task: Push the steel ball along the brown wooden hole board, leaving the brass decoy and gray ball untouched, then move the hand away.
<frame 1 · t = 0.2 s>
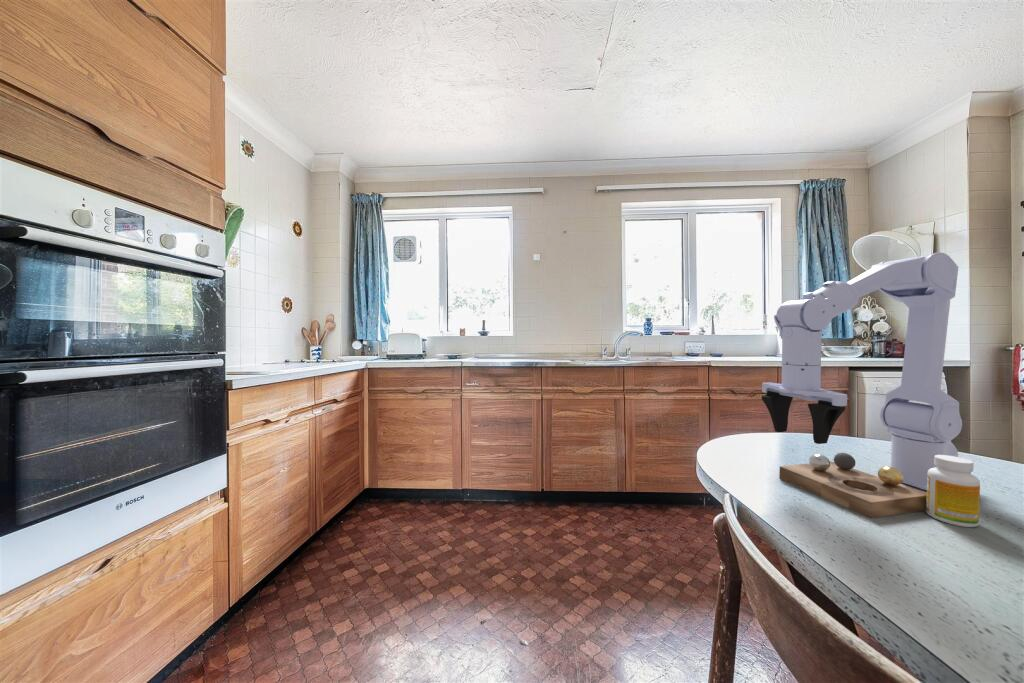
hand: (799, 437, 69), 10 cm above the table, fingers open, 7 cm apart
steel ball: (819, 462, 72), point 4 cm above the table, touching brown wooden hole board
gray ball: (844, 461, 73), point 4 cm above the table, touching brown wooden hole board
brass decoy: (890, 475, 66), point 4 cm above the table, touching brown wooden hole board
brown wooden hole board: (848, 492, 68), on the table
supplement bottle: (951, 520, 59), on the table
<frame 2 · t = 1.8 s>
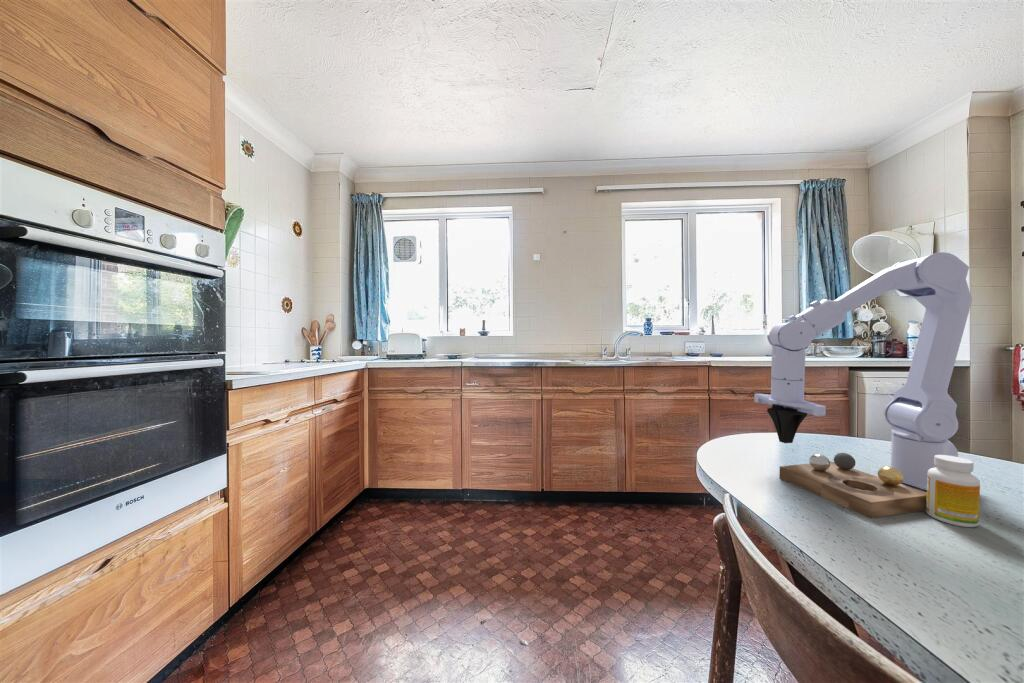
hand: (785, 442, 79), 6 cm above the table, fingers closed
nothing on the table moved.
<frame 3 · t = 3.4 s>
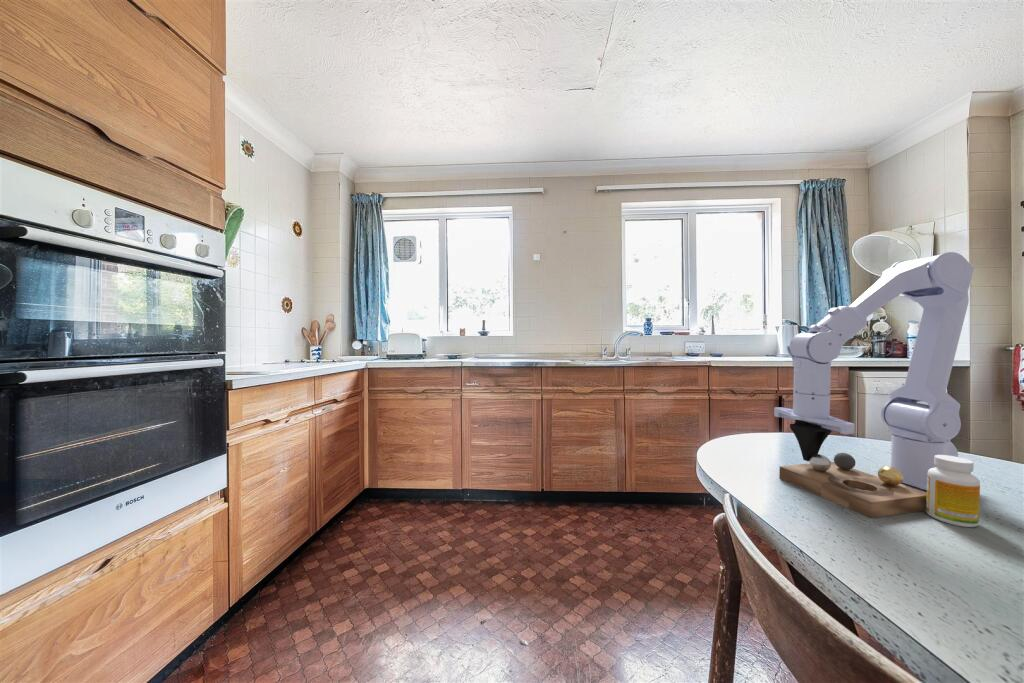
hand: (809, 460, 74), 4 cm above the table, fingers closed, pressing on steel ball
steel ball: (820, 462, 72), point 4 cm above the table, touching gripper, brown wooden hole board
everything else where it was.
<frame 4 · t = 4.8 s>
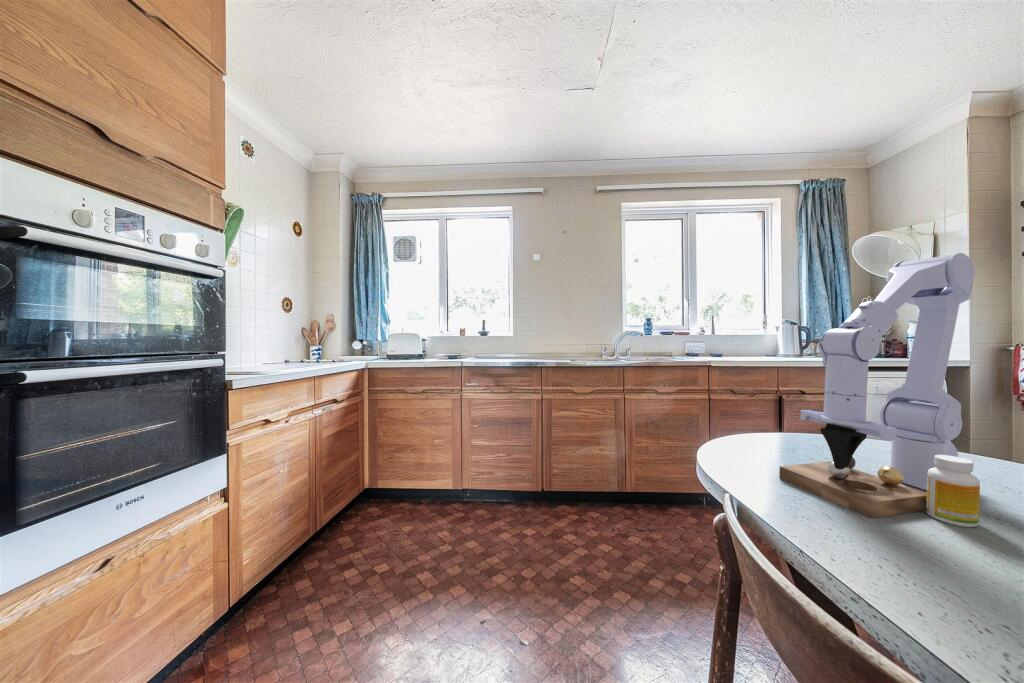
hand: (840, 468, 68), 5 cm above the table, fingers closed, pressing on steel ball
steel ball: (838, 470, 69), point 4 cm above the table, tilted 140°, touching gripper, brown wooden hole board
everything else where it was.
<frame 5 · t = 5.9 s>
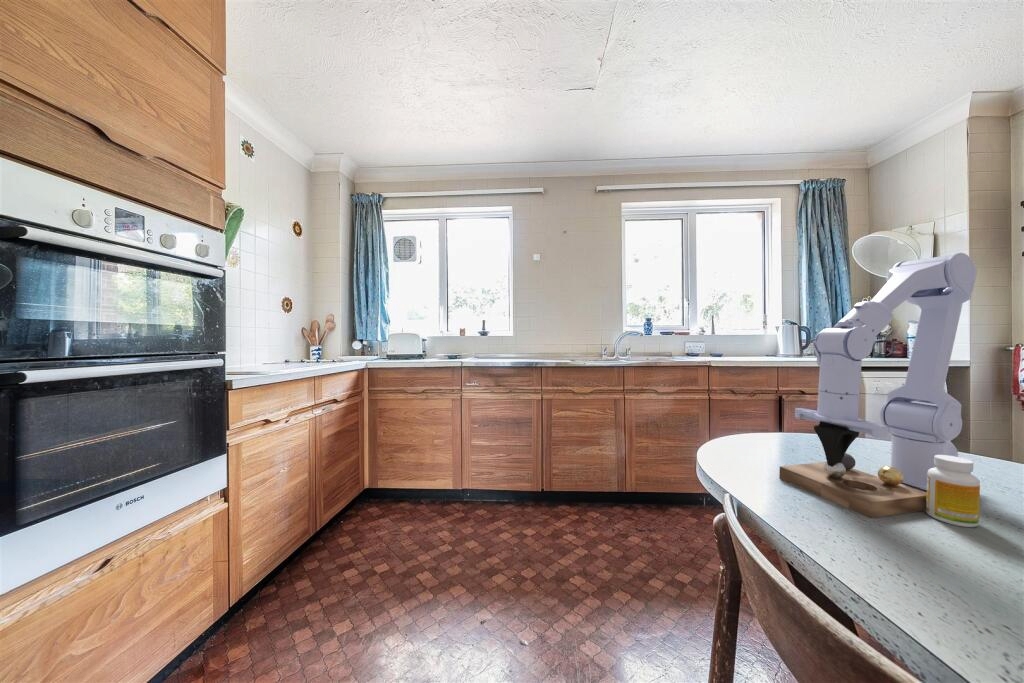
hand: (833, 465, 69), 5 cm above the table, fingers closed, pressing on steel ball
steel ball: (834, 468, 69), point 4 cm above the table, tilted 118°, touching gripper, brown wooden hole board
everything else where it was.
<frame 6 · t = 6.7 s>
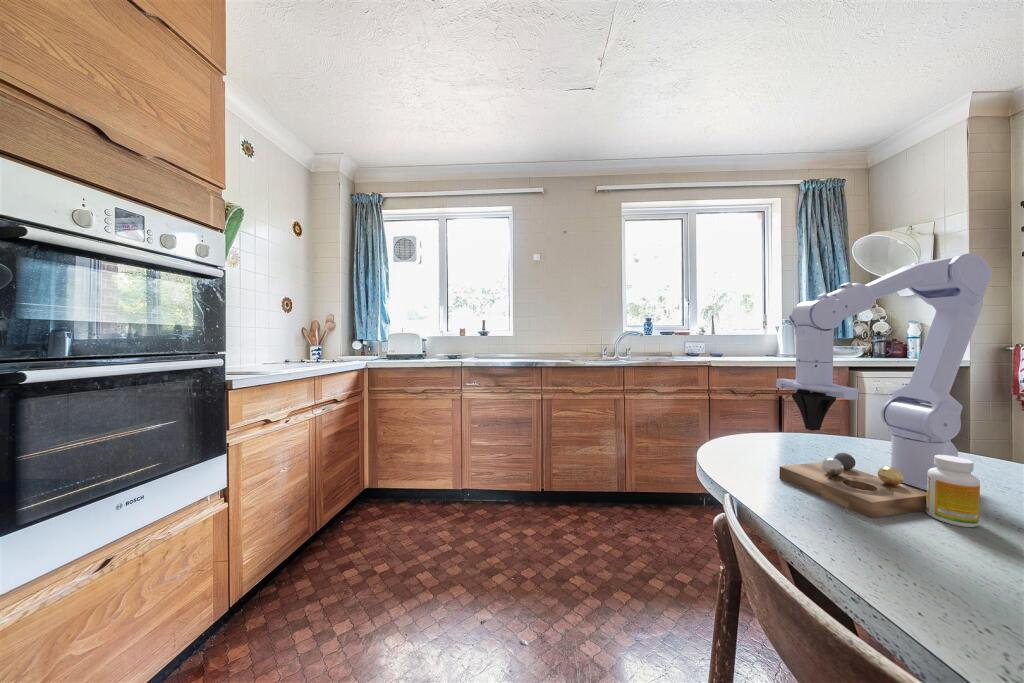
hand: (812, 429, 74), 10 cm above the table, fingers closed
steel ball: (832, 466, 70), point 4 cm above the table, tilted 79°, touching brown wooden hole board
everything else where it was.
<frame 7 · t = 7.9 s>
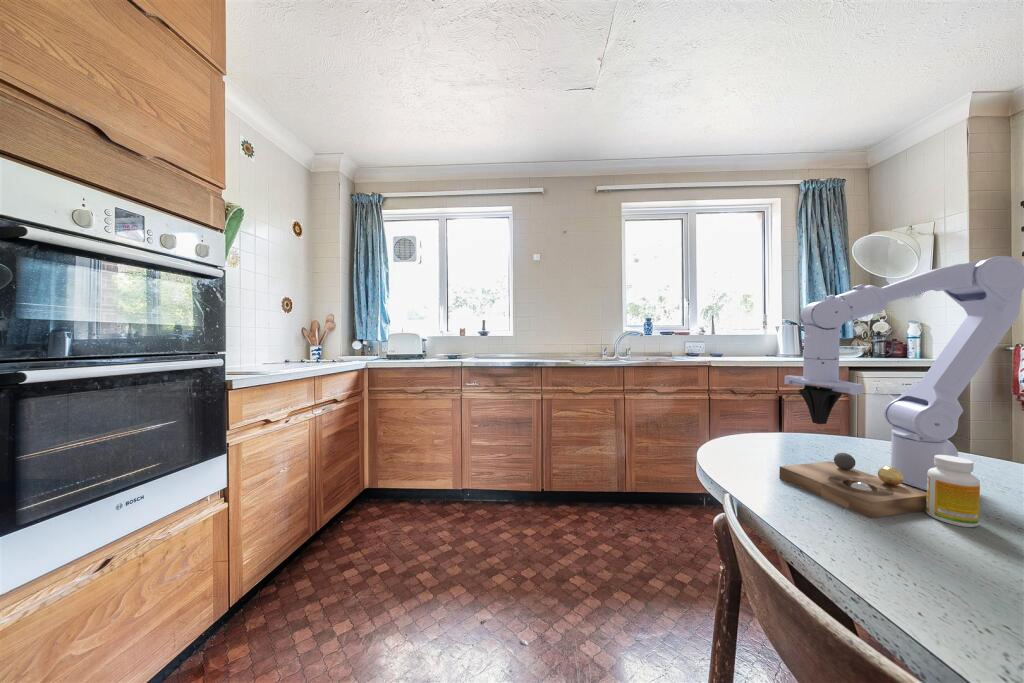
hand: (819, 423, 78), 10 cm above the table, fingers closed
steel ball: (861, 491, 65), point 2 cm above the table, tilted 58°
everything else where it was.
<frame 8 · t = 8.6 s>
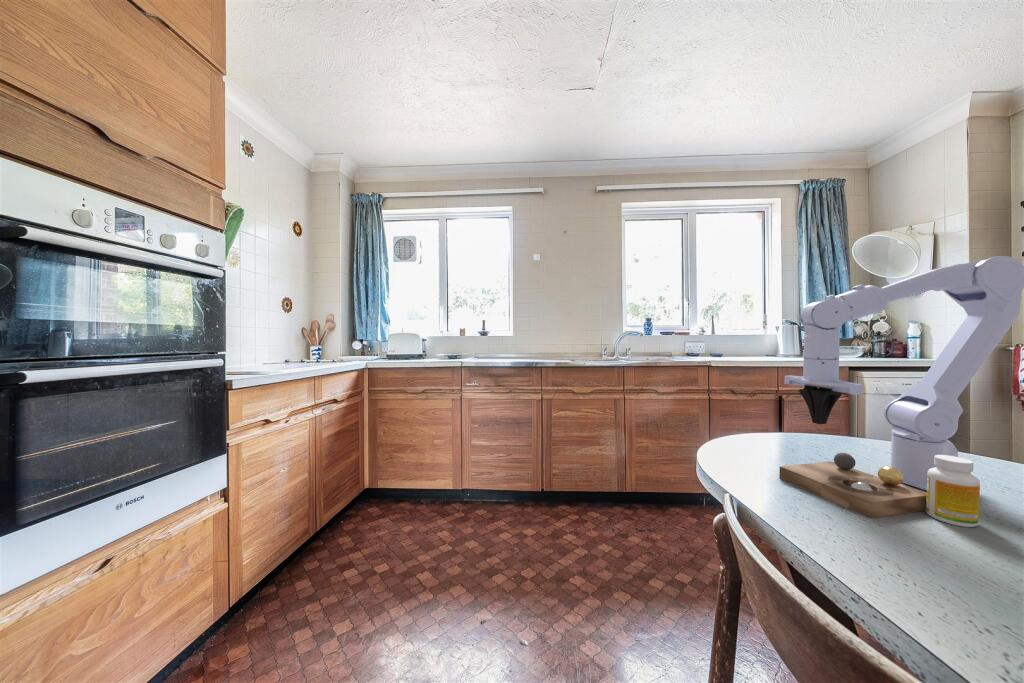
hand: (819, 423, 78), 10 cm above the table, fingers closed
nothing on the table moved.
at the end: steel ball 0.6 cm from the target spot on the brown wooden hole board, point 1.6 cm above the brown wooden hole board's base; brass decoy moved 0.1 cm from its start; gray ball moved 0.1 cm from its start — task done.
